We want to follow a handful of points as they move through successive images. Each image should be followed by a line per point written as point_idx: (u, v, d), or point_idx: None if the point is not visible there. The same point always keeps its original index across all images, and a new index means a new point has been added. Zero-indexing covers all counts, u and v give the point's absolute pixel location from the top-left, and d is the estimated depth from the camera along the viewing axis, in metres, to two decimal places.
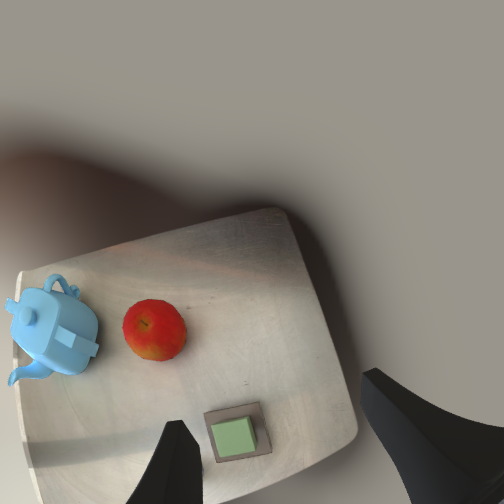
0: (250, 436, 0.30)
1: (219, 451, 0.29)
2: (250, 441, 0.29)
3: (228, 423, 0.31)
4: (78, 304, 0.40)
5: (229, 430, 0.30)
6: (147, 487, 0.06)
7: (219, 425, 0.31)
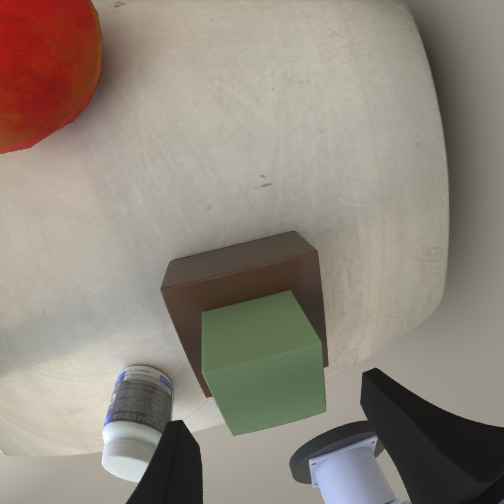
0: (322, 385, 0.11)
1: (231, 426, 0.11)
2: (320, 396, 0.11)
3: (261, 362, 0.10)
4: None
5: (261, 381, 0.10)
6: (147, 487, 0.06)
7: (230, 370, 0.10)
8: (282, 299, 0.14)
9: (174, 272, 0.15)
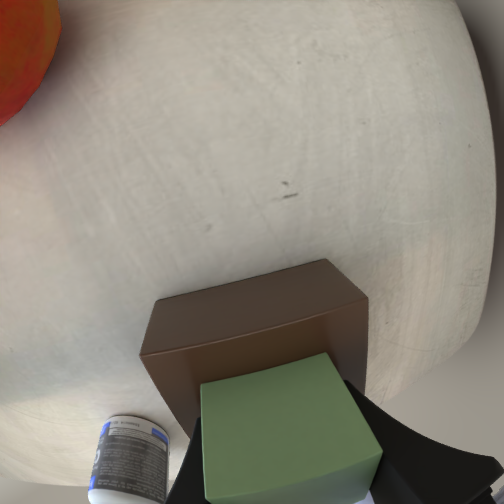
0: (368, 483, 0.06)
1: None
2: (363, 491, 0.06)
3: (294, 485, 0.05)
4: None
5: (291, 497, 0.05)
6: (185, 486, 0.06)
7: (248, 496, 0.05)
8: (317, 370, 0.09)
9: (160, 323, 0.10)
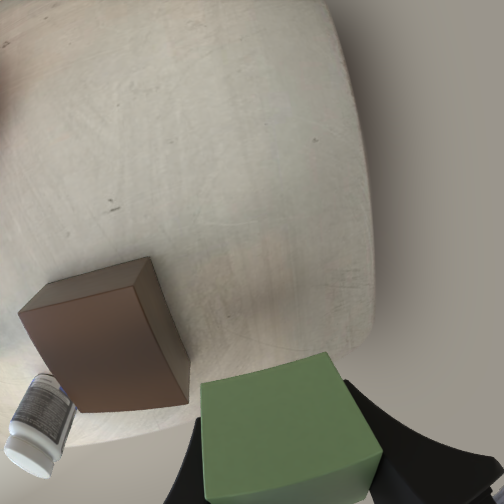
0: (368, 483, 0.06)
1: None
2: (362, 491, 0.06)
3: (293, 485, 0.05)
4: None
5: (291, 497, 0.05)
6: (185, 486, 0.06)
7: (247, 495, 0.05)
8: (317, 369, 0.09)
9: (37, 297, 0.13)
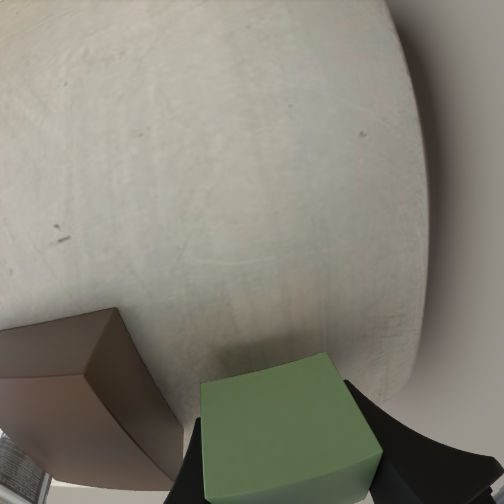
0: (368, 483, 0.06)
1: None
2: (363, 491, 0.06)
3: (294, 485, 0.05)
4: None
5: (291, 497, 0.05)
6: (185, 486, 0.06)
7: (247, 495, 0.05)
8: (317, 369, 0.09)
9: None
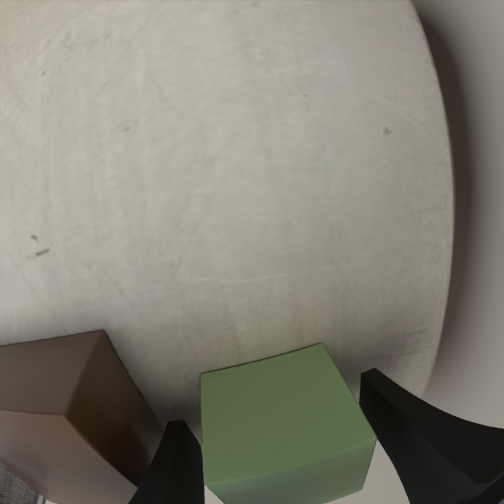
0: (364, 473, 0.06)
1: None
2: (359, 481, 0.07)
3: (290, 470, 0.06)
4: None
5: (288, 484, 0.06)
6: (149, 487, 0.06)
7: (245, 481, 0.05)
8: (313, 360, 0.09)
9: None
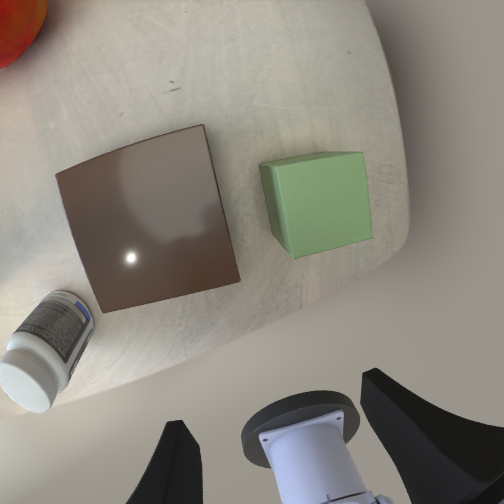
0: (367, 200, 0.14)
1: (293, 242, 0.14)
2: (366, 213, 0.14)
3: (321, 161, 0.13)
4: None
5: (321, 182, 0.13)
6: (147, 487, 0.06)
7: (298, 166, 0.13)
8: (323, 152, 0.16)
9: None
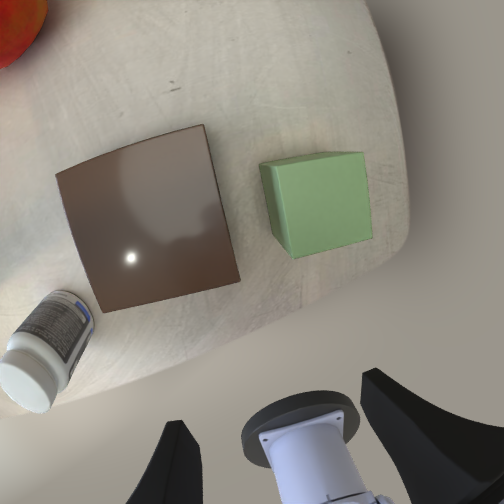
0: (367, 200, 0.14)
1: (293, 242, 0.14)
2: (366, 213, 0.14)
3: (321, 161, 0.13)
4: None
5: (321, 182, 0.13)
6: (147, 487, 0.06)
7: (298, 166, 0.13)
8: (324, 152, 0.16)
9: None
